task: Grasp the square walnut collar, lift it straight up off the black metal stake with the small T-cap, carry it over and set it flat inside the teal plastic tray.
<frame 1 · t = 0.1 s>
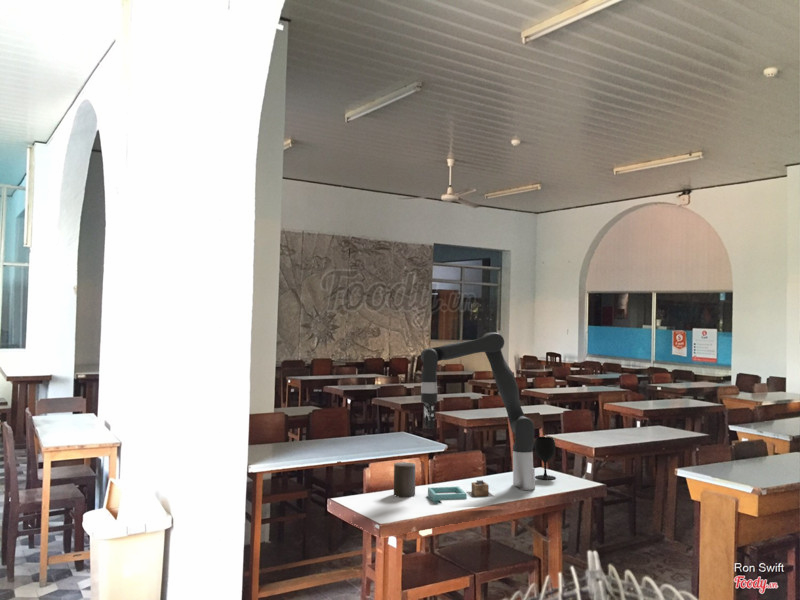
hand: (429, 427, 293), 29 cm above the table, fingers open, 8 cm apart
wine glass: (545, 478, 321), on the table
pillar candle: (404, 495, 286), on the table
walnut collar: (480, 494, 281), point 1 cm above the table, touching stake
tray: (446, 498, 278), on the table
stake: (480, 497, 281), on the table
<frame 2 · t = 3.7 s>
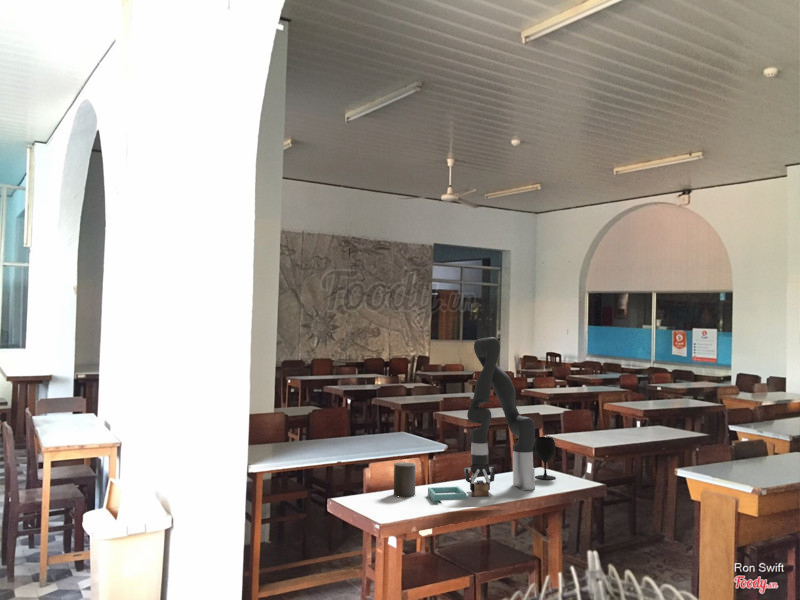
hand: (479, 491, 281), 3 cm above the table, fingers closed on walnut collar, 6 cm apart
walnut collar: (480, 494, 281), point 2 cm above the table, touching gripper, stake
everything else where it was.
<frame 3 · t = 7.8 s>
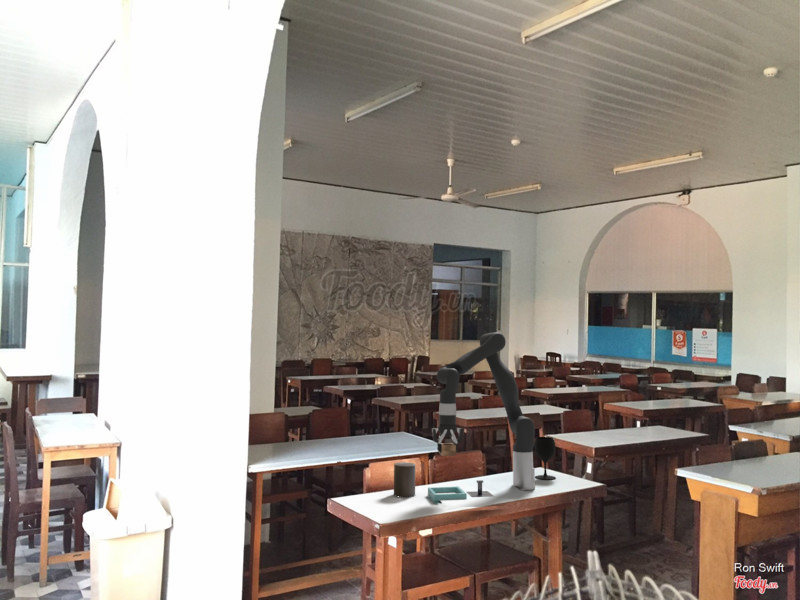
hand: (447, 452, 280), 20 cm above the table, fingers closed on walnut collar, 6 cm apart
walnut collar: (447, 454, 280), point 19 cm above the table, touching gripper
everything else where it was.
when the fingers open (4 cm above the table, at t = 11.9 s): walnut collar drops 1 cm, resting on tray.
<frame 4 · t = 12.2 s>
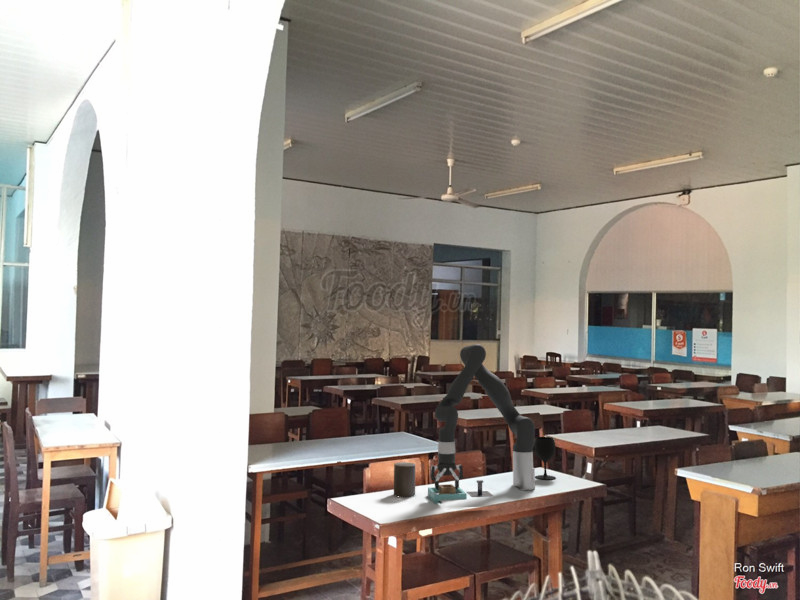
hand: (446, 489, 279), 4 cm above the table, fingers open, 8 cm apart
walnut collar: (446, 496, 278), point 1 cm above the table, touching tray
everything else where it was.
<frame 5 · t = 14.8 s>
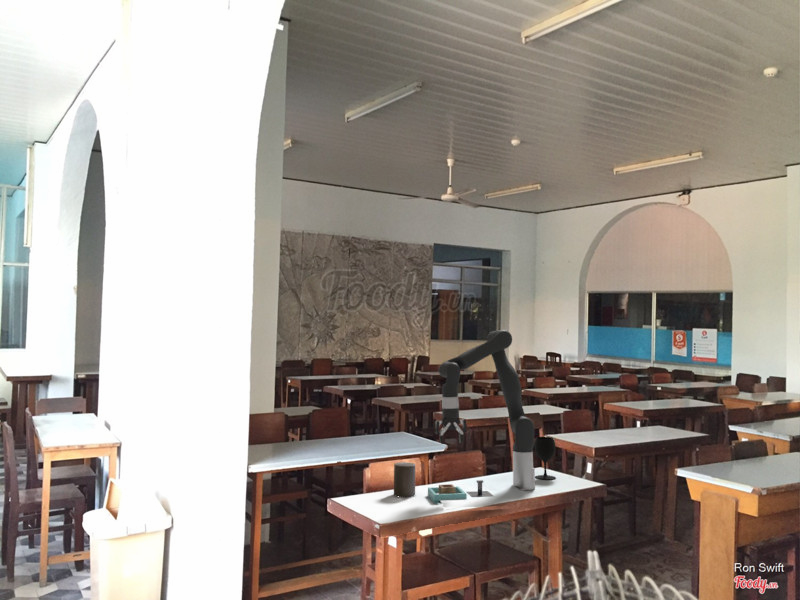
hand: (451, 443, 285), 23 cm above the table, fingers open, 8 cm apart
nothing on the table moved.
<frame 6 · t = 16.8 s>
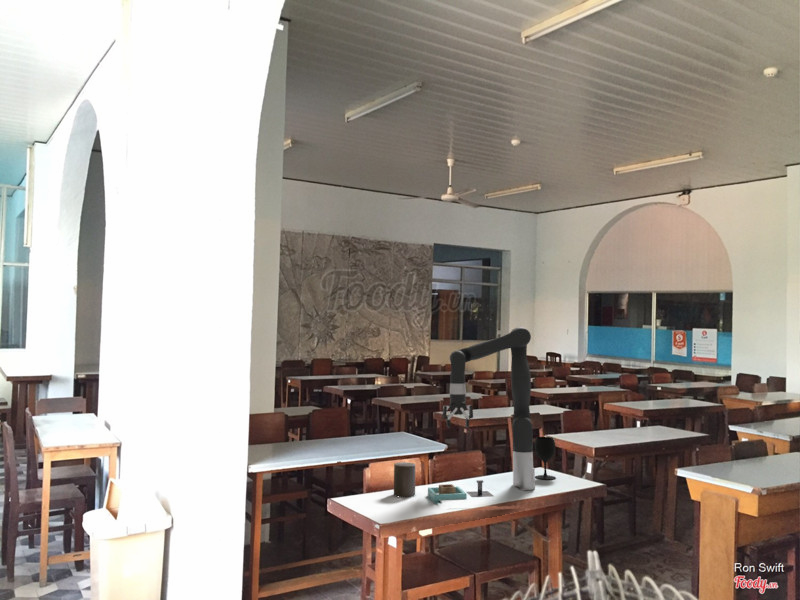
hand: (457, 427, 301), 28 cm above the table, fingers open, 8 cm apart
nothing on the table moved.
at the end: walnut collar inside the target area on the tray (0.0 cm from its centre), point 1.0 cm above the tray's base; walnut collar tilted 0°; the gripper is holding nothing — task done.
